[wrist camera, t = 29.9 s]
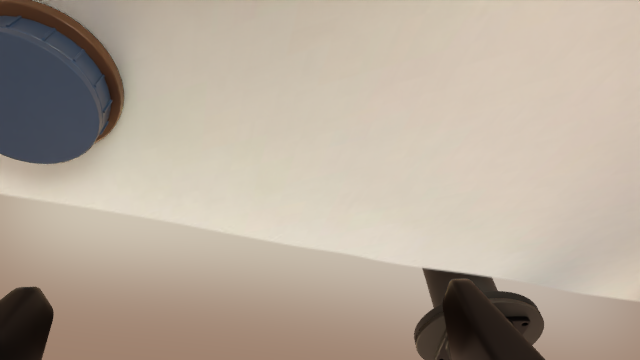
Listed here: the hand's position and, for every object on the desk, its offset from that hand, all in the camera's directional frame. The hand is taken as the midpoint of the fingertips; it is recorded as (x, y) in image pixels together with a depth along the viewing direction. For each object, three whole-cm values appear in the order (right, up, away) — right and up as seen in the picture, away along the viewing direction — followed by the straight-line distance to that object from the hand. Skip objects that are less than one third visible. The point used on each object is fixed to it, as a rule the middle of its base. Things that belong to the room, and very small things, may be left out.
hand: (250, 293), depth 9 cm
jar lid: (-11, +6, +9) cm, 15 cm away
